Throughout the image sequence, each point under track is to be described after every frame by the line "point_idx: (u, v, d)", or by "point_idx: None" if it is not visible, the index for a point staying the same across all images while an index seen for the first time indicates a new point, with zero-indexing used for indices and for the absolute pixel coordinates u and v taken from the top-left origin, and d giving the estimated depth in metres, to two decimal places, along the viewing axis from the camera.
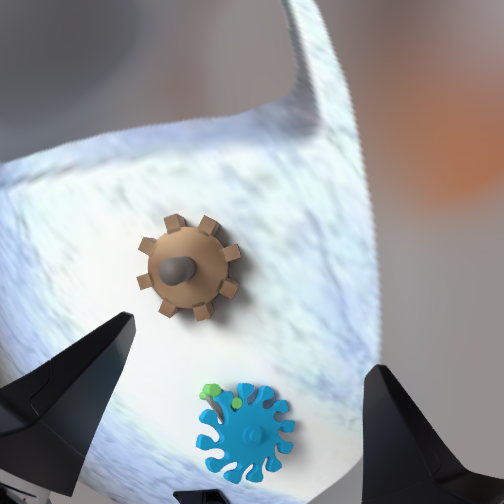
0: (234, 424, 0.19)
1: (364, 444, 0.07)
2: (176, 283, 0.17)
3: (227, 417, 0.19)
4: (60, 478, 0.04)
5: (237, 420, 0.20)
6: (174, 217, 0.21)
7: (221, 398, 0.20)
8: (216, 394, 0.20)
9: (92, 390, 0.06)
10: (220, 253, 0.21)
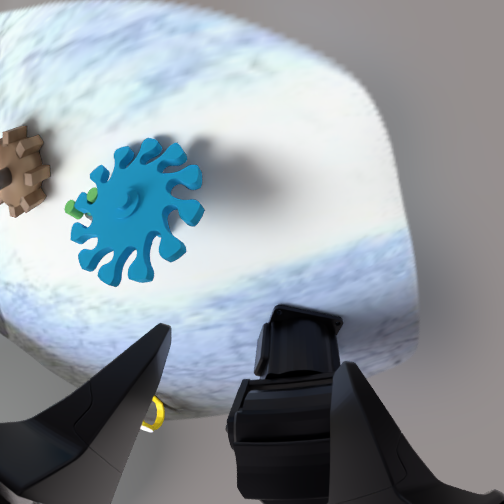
0: (99, 213, 0.16)
1: (331, 445, 0.07)
2: None
3: (92, 214, 0.16)
4: (99, 499, 0.04)
5: (100, 207, 0.16)
6: None
7: (77, 206, 0.16)
8: (71, 208, 0.16)
9: (134, 407, 0.06)
10: (4, 146, 0.15)
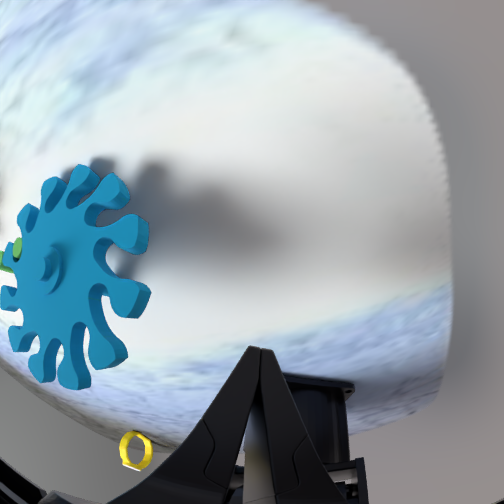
0: (23, 279, 0.09)
1: (246, 438, 0.07)
2: None
3: None
4: None
5: (24, 269, 0.09)
6: None
7: (4, 262, 0.10)
8: None
9: None
10: None
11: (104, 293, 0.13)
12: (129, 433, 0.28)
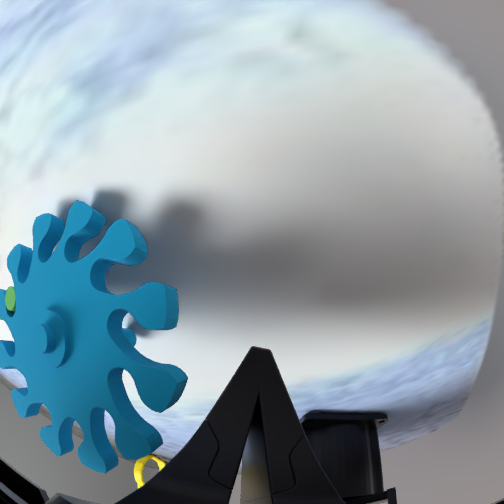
0: (21, 340, 0.07)
1: None
2: None
3: None
4: None
5: (21, 328, 0.07)
6: None
7: None
8: None
9: None
10: None
11: None
12: (143, 457, 0.26)
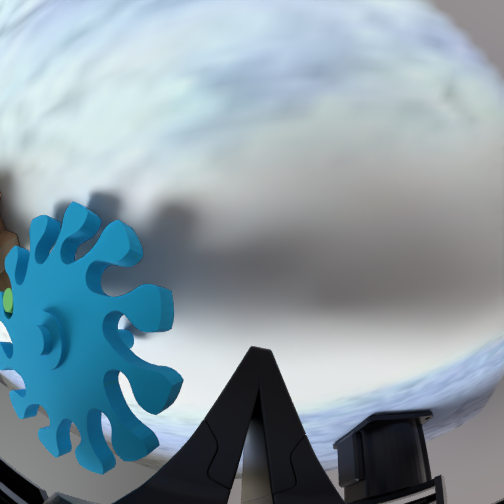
0: (19, 341, 0.07)
1: None
2: None
3: None
4: None
5: (18, 330, 0.07)
6: None
7: None
8: None
9: None
10: None
11: None
12: None
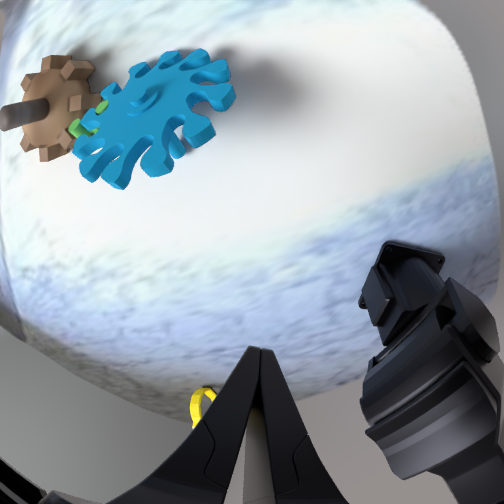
0: (109, 118, 0.12)
1: (246, 438, 0.07)
2: (9, 116, 0.10)
3: (100, 123, 0.13)
4: None
5: (111, 113, 0.12)
6: None
7: (83, 121, 0.13)
8: (76, 125, 0.13)
9: None
10: (43, 73, 0.12)
11: (174, 145, 0.16)
12: (200, 389, 0.31)
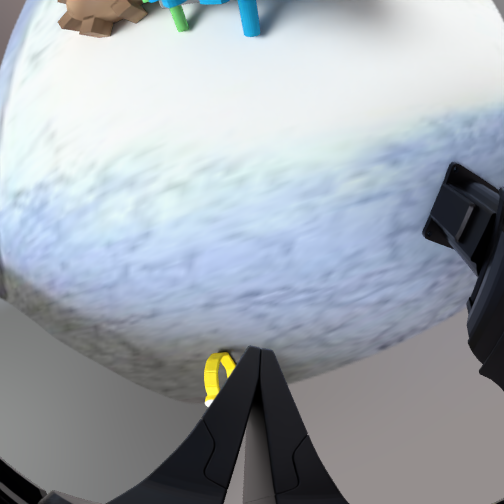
0: None
1: (246, 438, 0.07)
2: None
3: None
4: None
5: None
6: None
7: None
8: None
9: None
10: None
11: (254, 19, 0.11)
12: (216, 353, 0.26)
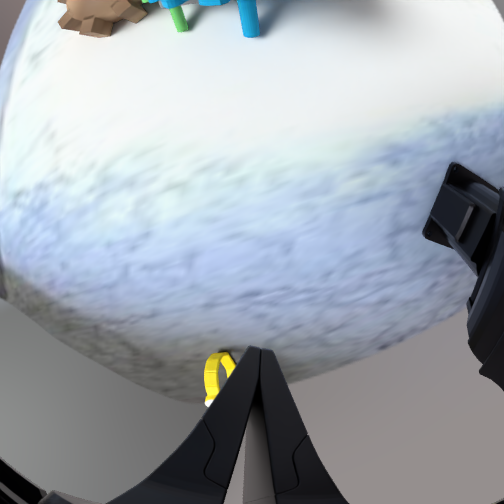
0: None
1: (246, 438, 0.07)
2: None
3: None
4: None
5: None
6: None
7: None
8: None
9: None
10: None
11: (254, 19, 0.11)
12: (216, 353, 0.26)
